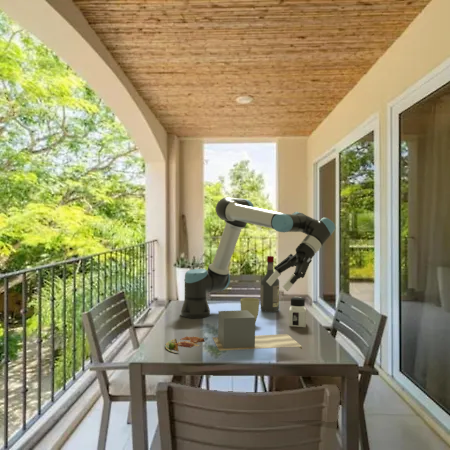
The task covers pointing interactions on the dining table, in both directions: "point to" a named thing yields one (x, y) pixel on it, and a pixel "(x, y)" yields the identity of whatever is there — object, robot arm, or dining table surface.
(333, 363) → the dining table surface
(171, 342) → the food
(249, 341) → the grey matte cube
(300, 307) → the container
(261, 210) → the robot arm
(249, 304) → the mug
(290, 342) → the board
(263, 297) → the liquor
